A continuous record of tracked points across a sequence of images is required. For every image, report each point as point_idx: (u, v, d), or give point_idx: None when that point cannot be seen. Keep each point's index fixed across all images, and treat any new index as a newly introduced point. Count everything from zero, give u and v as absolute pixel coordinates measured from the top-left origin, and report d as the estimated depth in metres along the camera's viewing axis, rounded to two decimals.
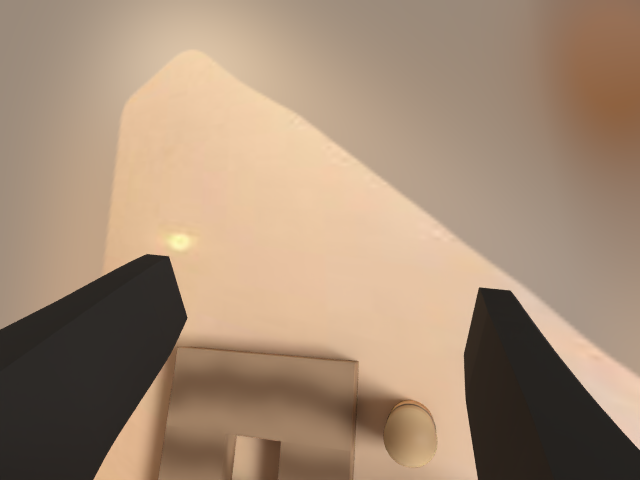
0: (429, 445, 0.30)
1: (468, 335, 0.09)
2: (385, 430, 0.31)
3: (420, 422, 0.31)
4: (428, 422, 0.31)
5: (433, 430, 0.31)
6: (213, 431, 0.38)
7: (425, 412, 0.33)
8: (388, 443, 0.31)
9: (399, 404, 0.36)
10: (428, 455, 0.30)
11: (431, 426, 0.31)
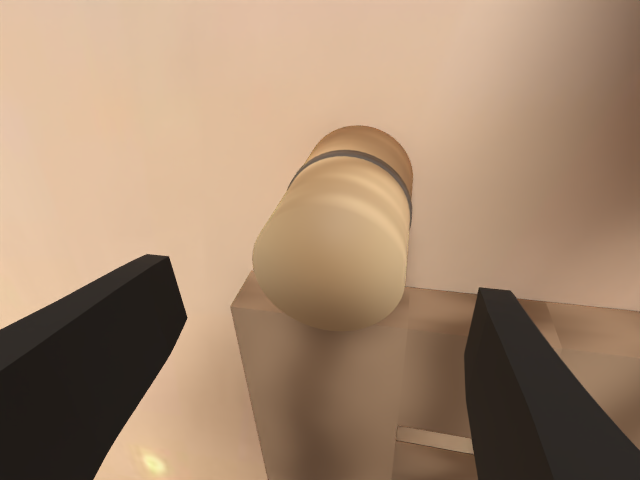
0: (335, 227, 0.10)
1: (468, 335, 0.09)
2: (316, 324, 0.11)
3: (278, 245, 0.10)
4: (272, 226, 0.10)
5: (291, 214, 0.10)
6: None
7: (289, 187, 0.12)
8: (347, 322, 0.11)
9: None
10: (365, 233, 0.09)
11: (281, 219, 0.10)
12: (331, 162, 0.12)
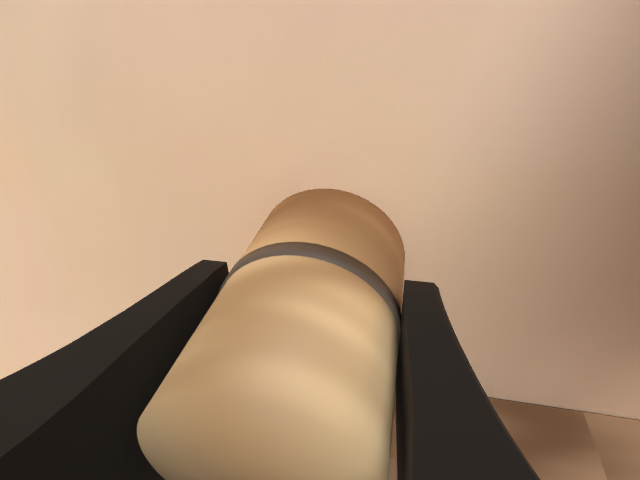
0: (262, 423, 0.05)
1: None
2: None
3: (175, 433, 0.06)
4: (158, 409, 0.06)
5: (185, 399, 0.05)
6: None
7: None
8: None
9: None
10: (314, 437, 0.05)
11: (170, 403, 0.06)
12: (275, 268, 0.07)
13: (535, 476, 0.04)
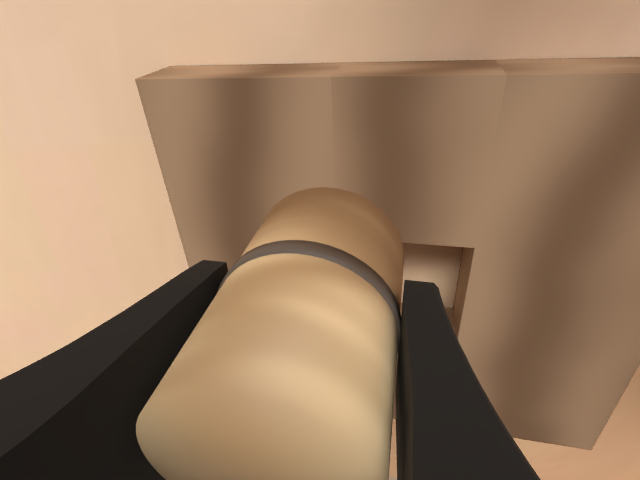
0: (261, 420, 0.05)
1: None
2: None
3: (173, 432, 0.06)
4: (156, 408, 0.06)
5: (183, 397, 0.05)
6: None
7: (213, 299, 0.08)
8: None
9: None
10: (312, 434, 0.05)
11: (168, 401, 0.06)
12: (273, 266, 0.07)
13: (535, 476, 0.04)
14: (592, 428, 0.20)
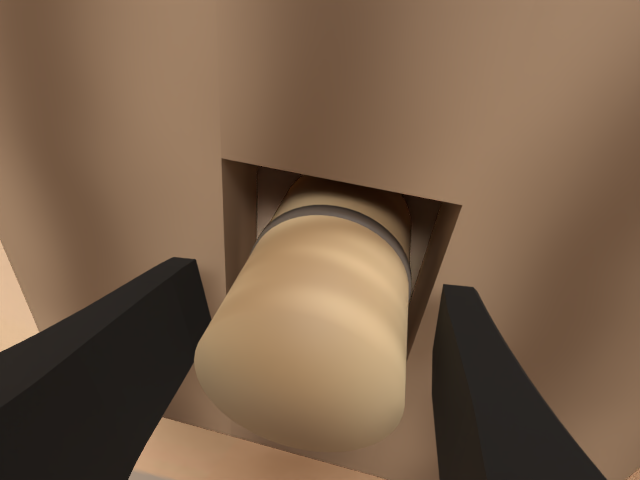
0: (303, 337, 0.07)
1: (435, 331, 0.09)
2: (287, 443, 0.09)
3: (227, 355, 0.07)
4: (215, 332, 0.07)
5: (240, 320, 0.07)
6: None
7: None
8: (327, 443, 0.08)
9: None
10: (345, 347, 0.07)
11: (226, 325, 0.07)
12: (302, 225, 0.09)
13: None
14: None
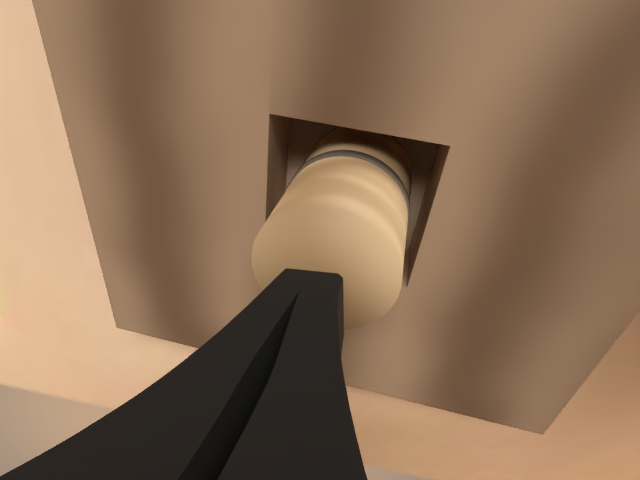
0: (330, 227, 0.10)
1: None
2: None
3: (276, 246, 0.10)
4: (268, 227, 0.10)
5: (286, 215, 0.10)
6: None
7: (287, 189, 0.12)
8: (346, 320, 0.11)
9: None
10: (360, 231, 0.10)
11: (277, 220, 0.10)
12: (327, 162, 0.12)
13: (352, 442, 0.05)
14: (549, 408, 0.16)
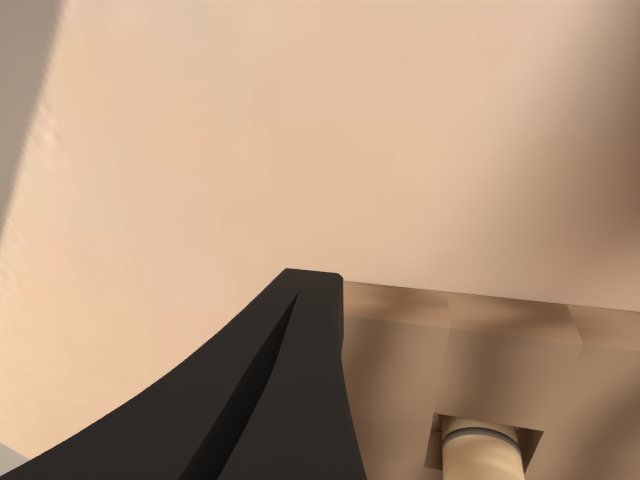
0: None
1: None
2: None
3: None
4: None
5: None
6: (421, 477, 0.25)
7: (448, 452, 0.22)
8: None
9: None
10: None
11: None
12: (472, 442, 0.21)
13: (352, 442, 0.05)
14: None
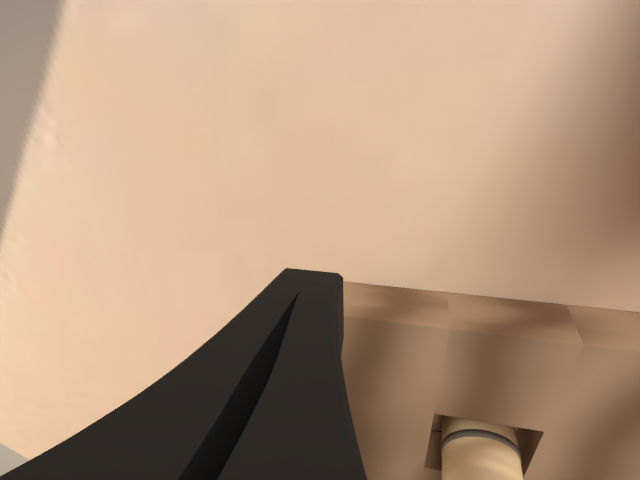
0: None
1: None
2: None
3: None
4: None
5: None
6: (421, 478, 0.25)
7: (446, 454, 0.22)
8: None
9: None
10: None
11: None
12: (469, 444, 0.21)
13: (352, 442, 0.05)
14: None
